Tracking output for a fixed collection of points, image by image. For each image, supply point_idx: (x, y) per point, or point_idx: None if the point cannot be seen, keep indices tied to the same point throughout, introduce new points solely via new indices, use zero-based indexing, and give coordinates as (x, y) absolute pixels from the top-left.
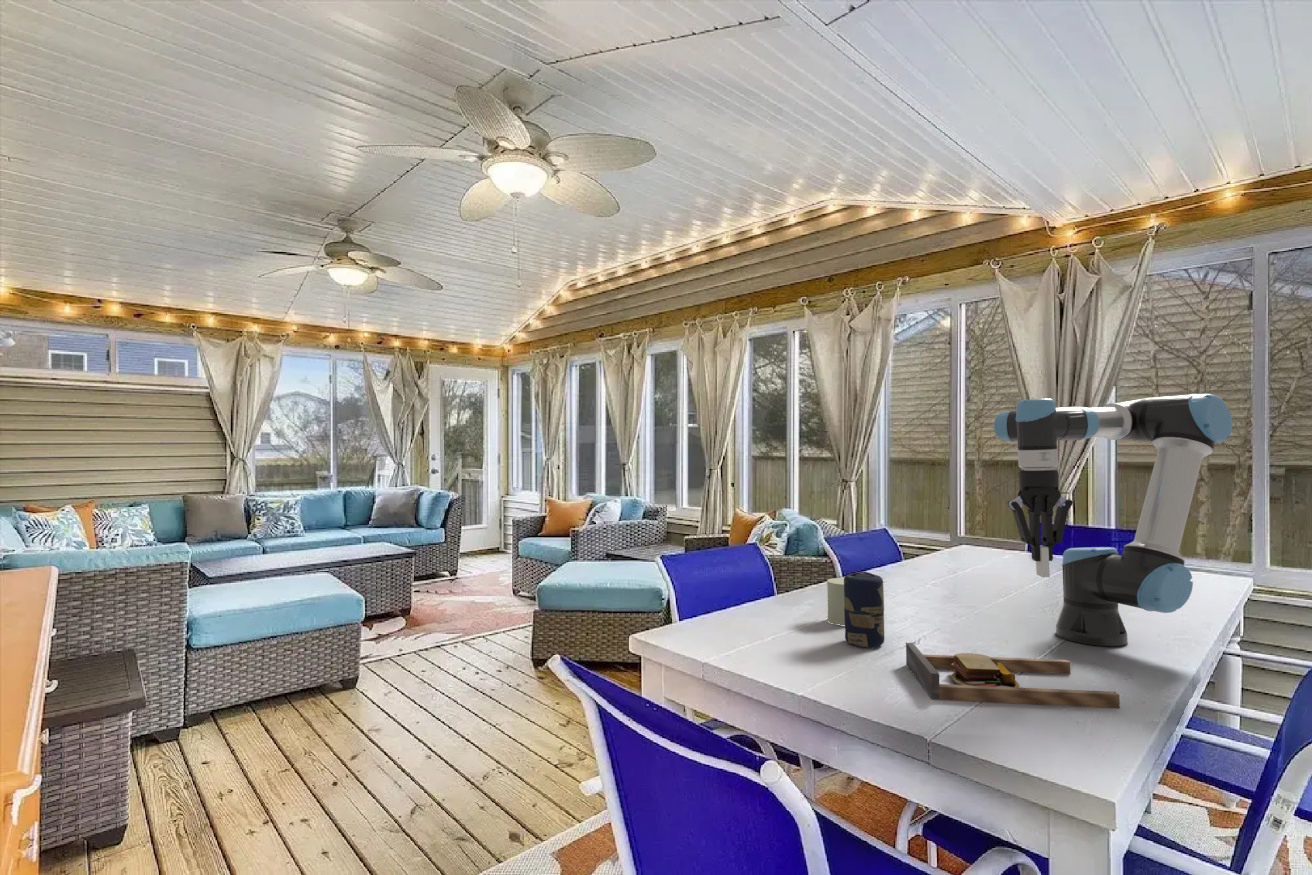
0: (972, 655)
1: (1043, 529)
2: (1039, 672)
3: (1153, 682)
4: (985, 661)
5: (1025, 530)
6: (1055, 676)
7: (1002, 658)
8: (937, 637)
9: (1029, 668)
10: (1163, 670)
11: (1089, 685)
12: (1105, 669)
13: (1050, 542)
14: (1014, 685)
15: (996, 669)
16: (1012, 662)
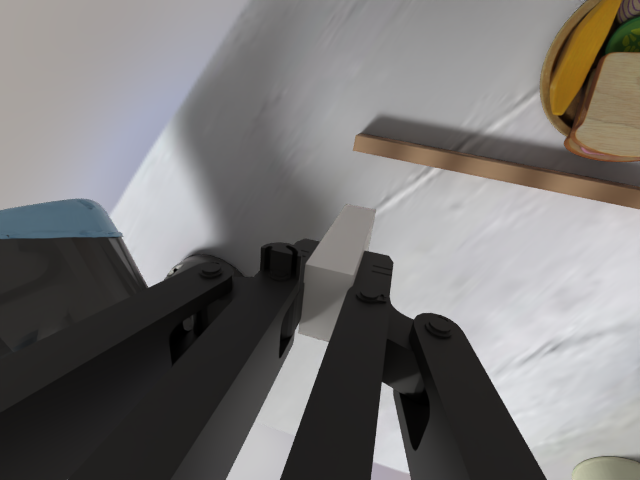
0: (626, 141)
1: (250, 405)
2: (418, 144)
3: (242, 78)
4: (613, 104)
5: (493, 432)
6: (401, 119)
7: (494, 170)
8: None
9: (439, 149)
10: (194, 141)
11: (369, 60)
12: (281, 153)
13: (275, 280)
14: (572, 32)
15: (620, 53)
16: (477, 158)
